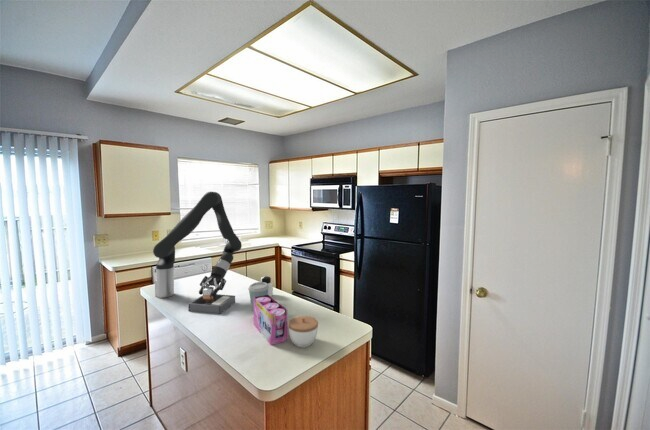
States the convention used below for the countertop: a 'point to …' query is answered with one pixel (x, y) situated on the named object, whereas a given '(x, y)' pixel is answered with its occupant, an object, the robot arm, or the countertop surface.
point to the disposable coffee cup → (257, 291)
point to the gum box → (270, 319)
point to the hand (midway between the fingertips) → (206, 295)
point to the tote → (200, 307)
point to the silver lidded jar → (208, 295)
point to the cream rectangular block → (221, 300)
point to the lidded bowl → (303, 330)
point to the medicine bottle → (268, 281)
